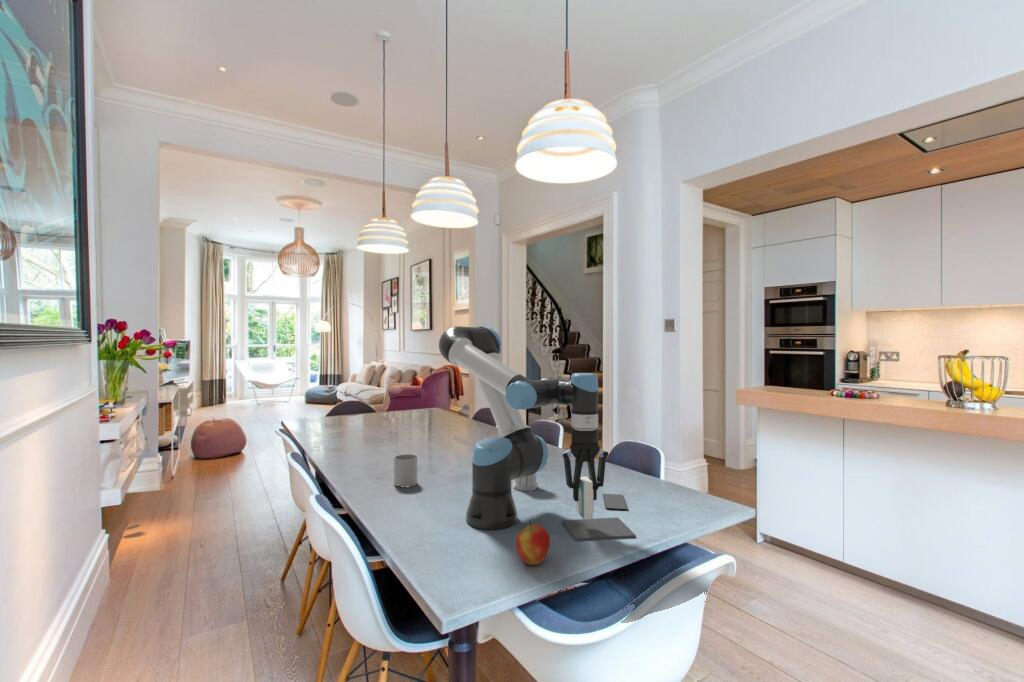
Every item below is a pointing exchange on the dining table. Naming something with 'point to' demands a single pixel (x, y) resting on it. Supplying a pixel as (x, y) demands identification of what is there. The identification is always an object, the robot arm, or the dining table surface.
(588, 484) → the teal white block
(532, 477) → the cup
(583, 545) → the dining table surface
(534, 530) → the apple
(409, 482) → the cup
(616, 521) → the mat
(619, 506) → the smartphone
